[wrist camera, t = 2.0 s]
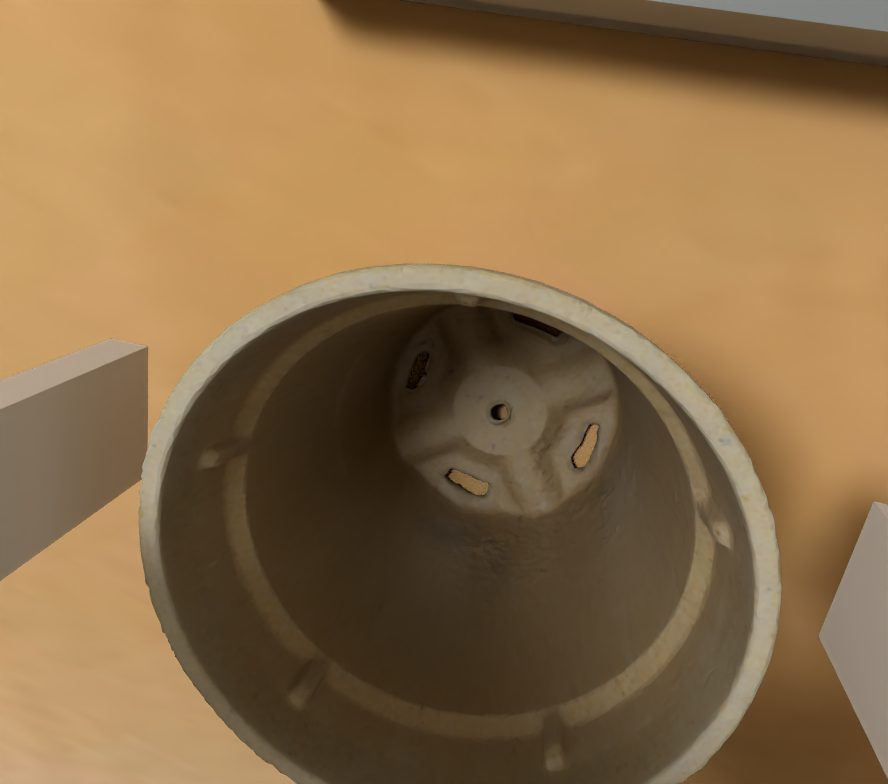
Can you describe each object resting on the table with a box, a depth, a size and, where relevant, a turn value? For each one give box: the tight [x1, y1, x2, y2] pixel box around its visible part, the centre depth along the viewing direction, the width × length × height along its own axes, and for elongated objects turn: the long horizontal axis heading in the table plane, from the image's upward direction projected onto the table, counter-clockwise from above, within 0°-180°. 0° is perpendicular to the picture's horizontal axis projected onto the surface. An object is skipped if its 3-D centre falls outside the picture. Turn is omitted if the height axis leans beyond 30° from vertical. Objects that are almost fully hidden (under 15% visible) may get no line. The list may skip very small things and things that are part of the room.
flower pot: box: [138, 264, 782, 784], centre depth 14 cm, size 9×9×9 cm
